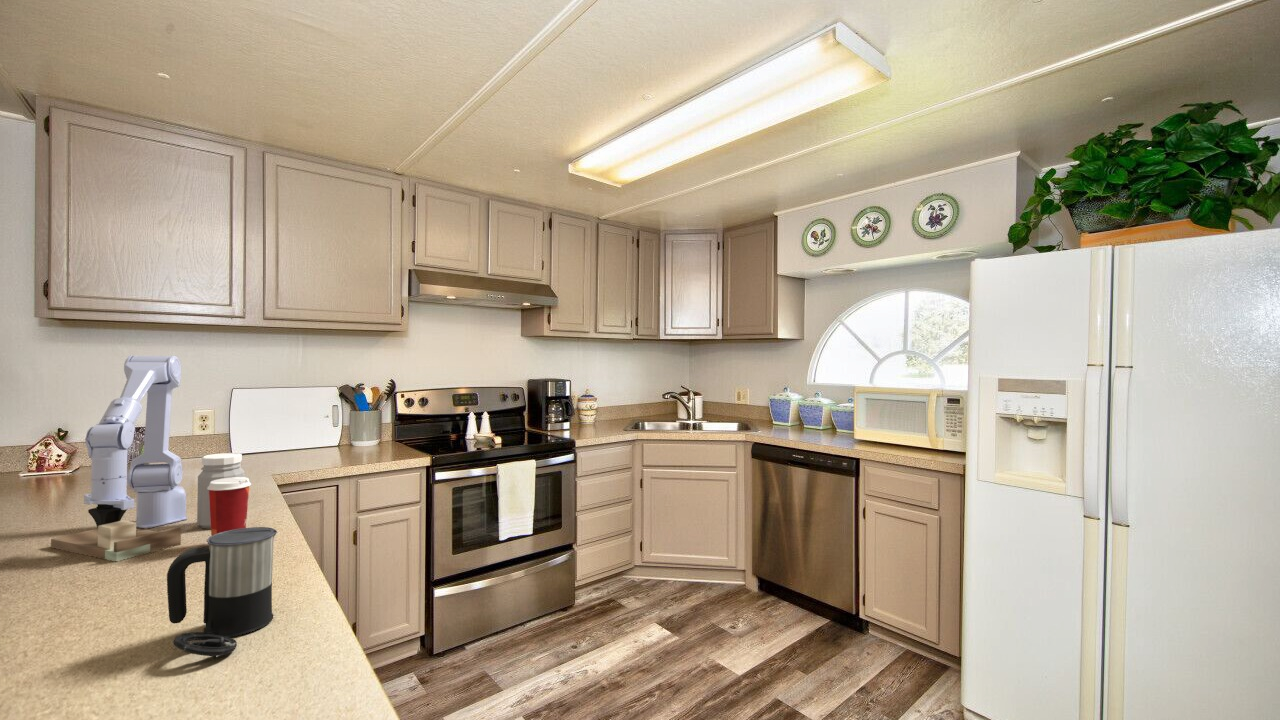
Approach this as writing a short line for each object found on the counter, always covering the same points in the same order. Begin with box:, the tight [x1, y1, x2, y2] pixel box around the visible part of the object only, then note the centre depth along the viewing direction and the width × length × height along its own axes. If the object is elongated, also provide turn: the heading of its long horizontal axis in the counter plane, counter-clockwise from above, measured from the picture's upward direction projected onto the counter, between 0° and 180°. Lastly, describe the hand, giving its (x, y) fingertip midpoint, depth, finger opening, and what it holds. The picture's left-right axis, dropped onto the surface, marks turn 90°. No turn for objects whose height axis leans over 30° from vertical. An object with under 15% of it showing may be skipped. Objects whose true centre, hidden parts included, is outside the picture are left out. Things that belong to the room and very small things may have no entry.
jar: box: [196, 452, 246, 530], centre depth 142 cm, size 10×10×18 cm
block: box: [97, 519, 137, 549], centre depth 119 cm, size 4×4×4 cm
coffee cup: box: [207, 476, 252, 536], centre depth 126 cm, size 8×8×15 cm
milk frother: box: [166, 526, 278, 659], centre depth 84 cm, size 14×16×15 cm
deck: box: [50, 526, 182, 562], centre depth 124 cm, size 12×24×4 cm, turn 71°
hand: (108, 538), depth 120 cm, fingers closed
